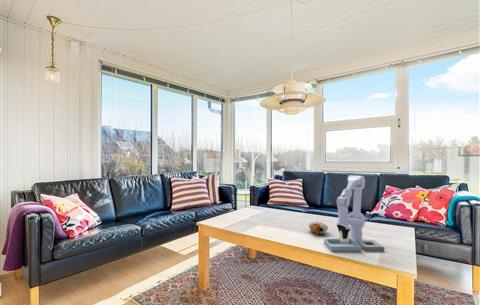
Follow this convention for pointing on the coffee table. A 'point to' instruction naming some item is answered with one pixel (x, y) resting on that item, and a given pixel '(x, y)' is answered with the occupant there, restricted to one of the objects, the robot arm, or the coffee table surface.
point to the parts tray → (342, 245)
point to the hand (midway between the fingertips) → (343, 237)
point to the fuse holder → (370, 245)
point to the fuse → (344, 239)
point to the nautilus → (318, 227)
